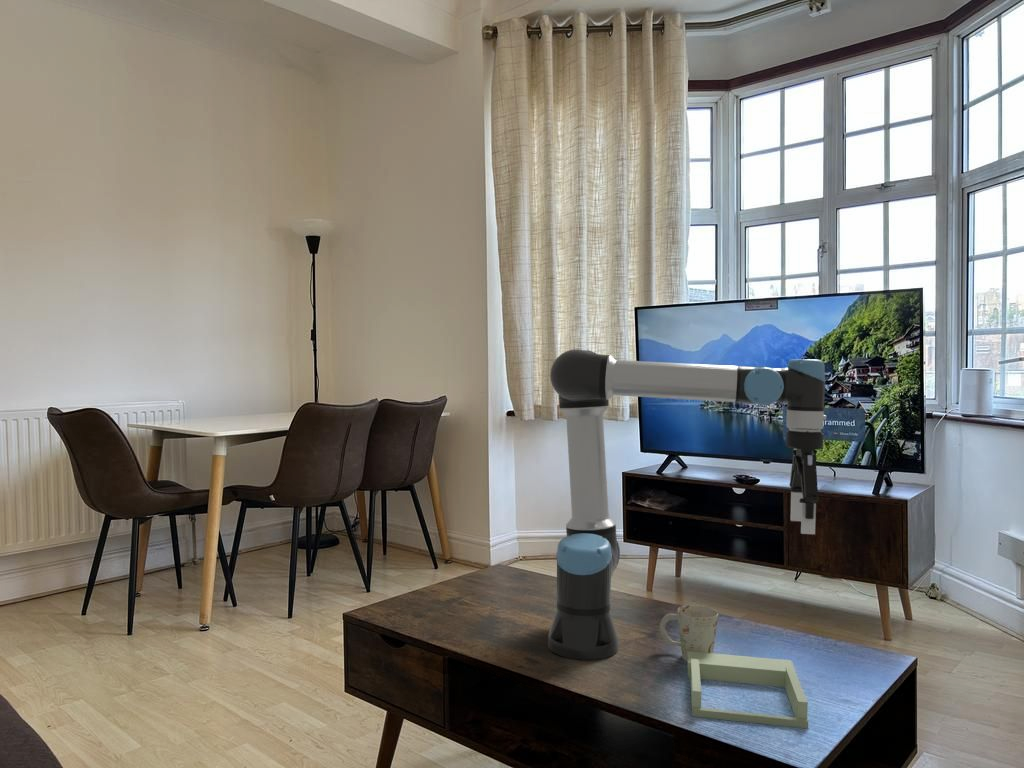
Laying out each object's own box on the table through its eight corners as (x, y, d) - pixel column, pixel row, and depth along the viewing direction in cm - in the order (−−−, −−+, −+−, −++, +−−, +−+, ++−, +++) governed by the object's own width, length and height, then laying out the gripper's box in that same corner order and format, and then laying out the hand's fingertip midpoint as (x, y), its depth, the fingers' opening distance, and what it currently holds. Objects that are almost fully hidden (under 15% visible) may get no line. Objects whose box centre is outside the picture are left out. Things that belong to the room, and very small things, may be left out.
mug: (710, 670, 149) (711, 620, 149) (651, 656, 156) (652, 609, 156) (722, 656, 156) (723, 609, 156) (665, 644, 163) (666, 599, 163)
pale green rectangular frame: (689, 715, 129) (689, 693, 129) (687, 665, 151) (687, 646, 151) (811, 728, 125) (811, 705, 125) (791, 675, 147) (791, 655, 147)
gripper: (835, 435, 149) (832, 541, 149) (812, 426, 173) (809, 517, 174) (796, 434, 150) (793, 538, 151) (778, 425, 175) (776, 515, 175)
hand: (802, 527), depth 162 cm, fingers open, 13 cm apart
